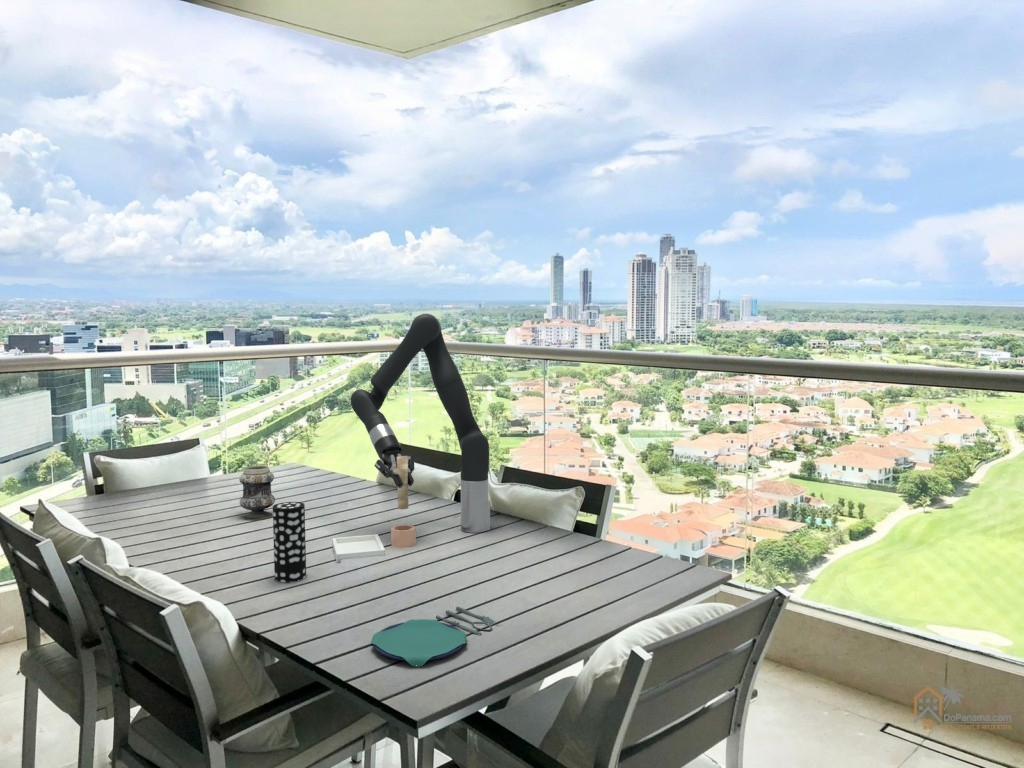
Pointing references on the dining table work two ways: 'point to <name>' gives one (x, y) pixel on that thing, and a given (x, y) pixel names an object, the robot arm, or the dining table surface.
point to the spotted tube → (289, 541)
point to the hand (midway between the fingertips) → (406, 485)
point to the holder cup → (403, 536)
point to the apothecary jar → (257, 492)
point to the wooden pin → (403, 473)
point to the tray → (357, 547)
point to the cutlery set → (425, 638)
